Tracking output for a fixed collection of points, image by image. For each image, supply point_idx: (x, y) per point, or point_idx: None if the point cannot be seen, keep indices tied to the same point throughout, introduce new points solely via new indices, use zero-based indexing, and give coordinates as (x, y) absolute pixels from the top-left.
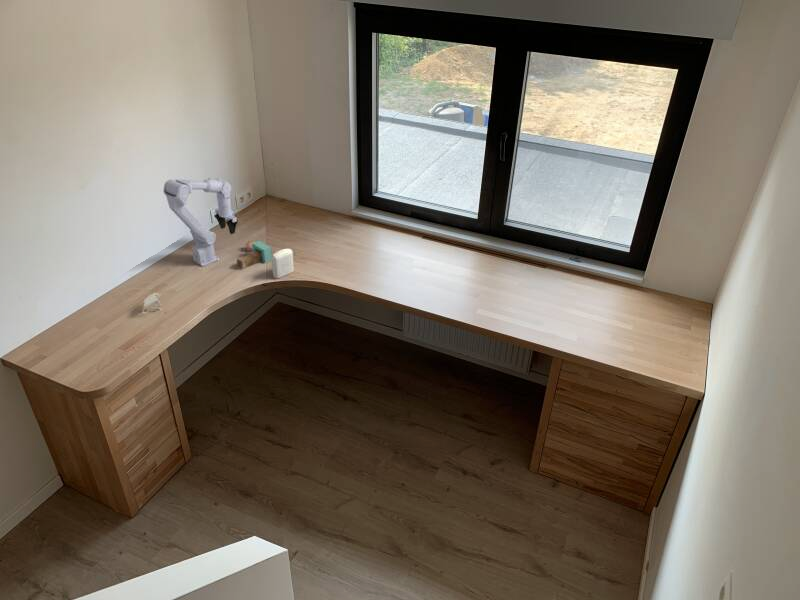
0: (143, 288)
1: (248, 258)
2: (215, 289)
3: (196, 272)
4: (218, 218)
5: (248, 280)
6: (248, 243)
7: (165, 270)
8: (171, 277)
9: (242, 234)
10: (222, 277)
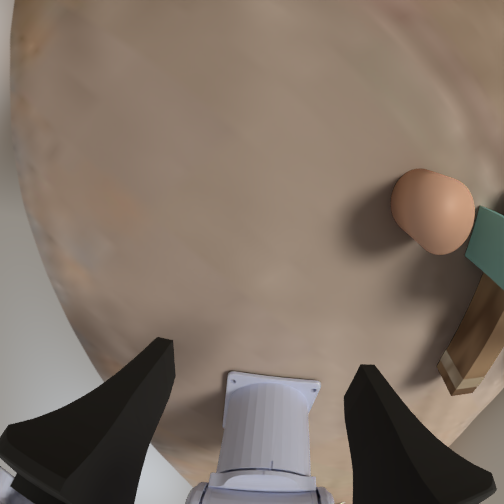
0: None
1: (496, 356)
2: None
3: None
4: (130, 502)
5: (494, 380)
6: (429, 225)
7: (212, 466)
8: None
9: (180, 61)
10: None
